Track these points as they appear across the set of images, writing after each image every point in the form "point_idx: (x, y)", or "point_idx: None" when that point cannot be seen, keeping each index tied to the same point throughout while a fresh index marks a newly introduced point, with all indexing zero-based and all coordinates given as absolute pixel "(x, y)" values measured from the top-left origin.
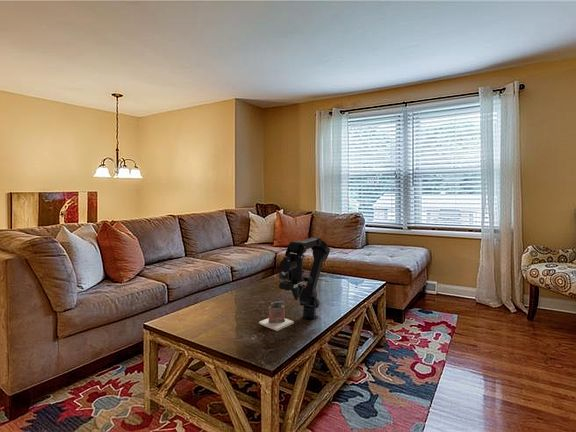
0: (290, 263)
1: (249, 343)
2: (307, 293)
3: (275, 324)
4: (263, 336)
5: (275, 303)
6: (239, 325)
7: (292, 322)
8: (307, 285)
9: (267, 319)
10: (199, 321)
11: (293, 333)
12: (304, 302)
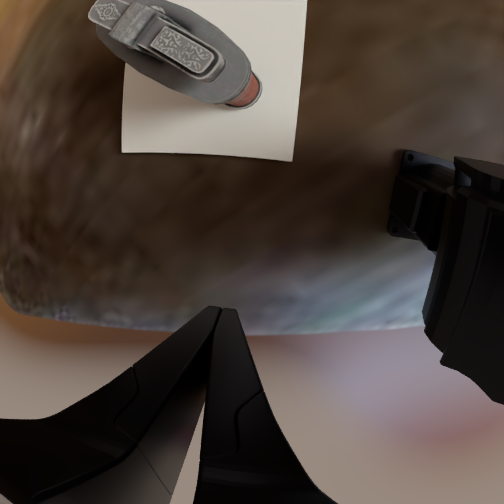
0: None
1: (3, 161)
2: (495, 332)
3: (163, 95)
4: (54, 149)
5: (113, 37)
6: None
7: (276, 159)
8: None
9: (195, 2)
10: None
11: (170, 242)
12: (438, 244)
